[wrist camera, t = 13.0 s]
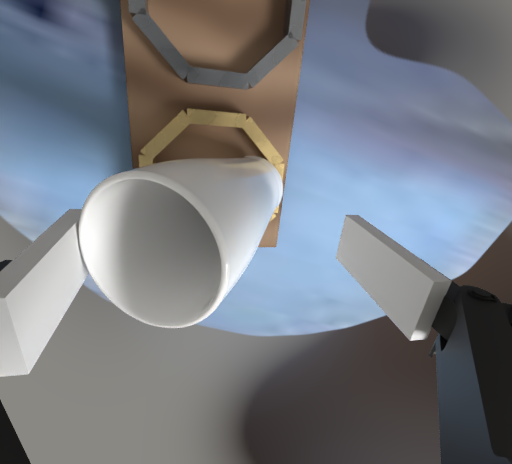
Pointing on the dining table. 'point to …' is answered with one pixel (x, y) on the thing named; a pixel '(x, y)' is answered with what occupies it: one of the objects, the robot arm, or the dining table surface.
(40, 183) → the dining table surface
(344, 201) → the dining table surface
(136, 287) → the drinking glass
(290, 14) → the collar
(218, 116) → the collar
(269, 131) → the walnut board
